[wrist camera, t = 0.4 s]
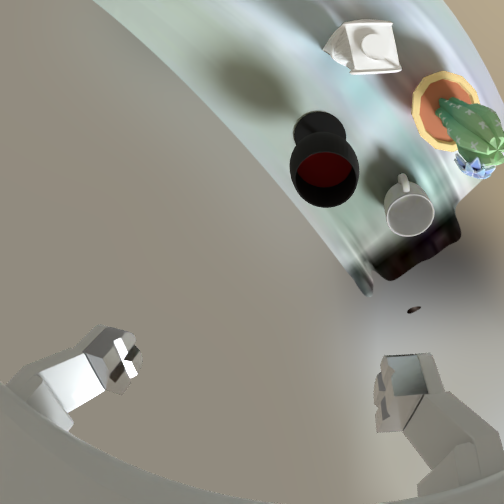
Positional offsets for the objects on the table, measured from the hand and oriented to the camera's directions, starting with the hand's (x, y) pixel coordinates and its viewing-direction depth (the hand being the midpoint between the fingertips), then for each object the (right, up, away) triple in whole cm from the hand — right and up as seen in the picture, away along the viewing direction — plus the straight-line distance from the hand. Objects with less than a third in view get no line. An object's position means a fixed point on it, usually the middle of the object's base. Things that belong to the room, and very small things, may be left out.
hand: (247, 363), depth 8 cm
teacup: (+33, +17, +47) cm, 60 cm away
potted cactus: (+35, +33, +32) cm, 58 cm away
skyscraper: (+17, +40, +30) cm, 53 cm away
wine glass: (+14, +26, +43) cm, 52 cm away
